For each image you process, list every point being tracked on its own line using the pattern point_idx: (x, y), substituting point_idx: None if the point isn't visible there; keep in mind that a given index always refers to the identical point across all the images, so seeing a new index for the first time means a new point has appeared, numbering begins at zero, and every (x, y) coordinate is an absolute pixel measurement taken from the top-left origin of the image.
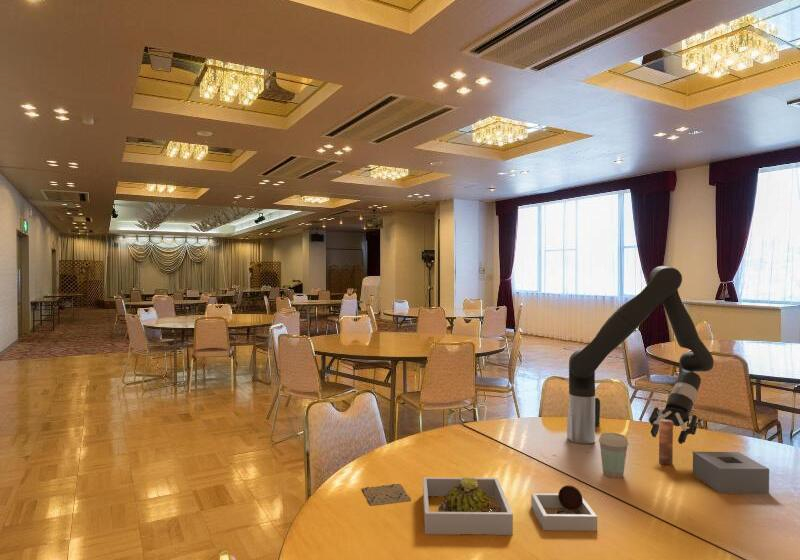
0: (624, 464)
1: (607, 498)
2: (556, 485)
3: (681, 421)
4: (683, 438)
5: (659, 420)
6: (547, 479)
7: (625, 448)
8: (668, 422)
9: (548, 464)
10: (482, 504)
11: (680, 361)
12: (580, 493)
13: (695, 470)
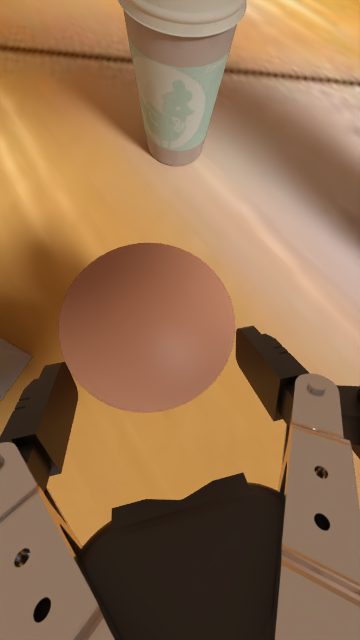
0: (142, 110)
1: (82, 42)
2: None
3: (4, 552)
4: (25, 394)
5: (205, 263)
6: None
7: (124, 15)
8: (85, 280)
9: (301, 81)
10: None
11: None
12: None
13: (2, 343)
